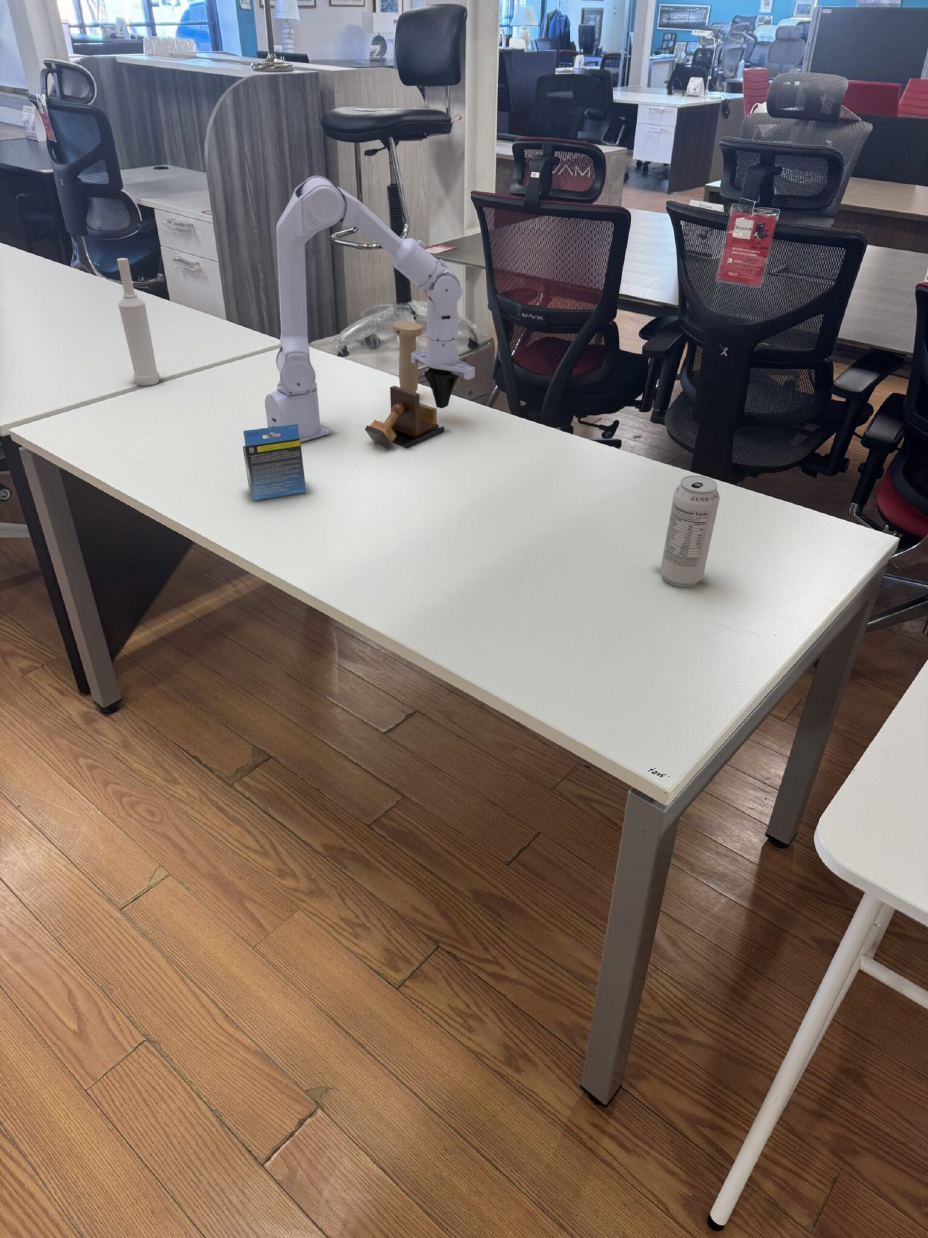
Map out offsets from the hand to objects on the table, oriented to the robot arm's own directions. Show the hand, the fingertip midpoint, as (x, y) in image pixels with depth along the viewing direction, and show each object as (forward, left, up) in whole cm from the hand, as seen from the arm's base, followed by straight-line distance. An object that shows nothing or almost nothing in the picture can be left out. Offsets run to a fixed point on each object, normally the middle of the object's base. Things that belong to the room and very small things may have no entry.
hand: (442, 406), depth 166 cm
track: (-9, -2, -3) cm, 10 cm away
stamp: (-15, -3, -3) cm, 16 cm away
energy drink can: (-9, -66, -3) cm, 67 cm away
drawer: (-8, -1, -2) cm, 8 cm away
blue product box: (-41, -7, -3) cm, 42 cm away
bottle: (-37, +56, -3) cm, 67 cm away
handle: (+2, +14, -3) cm, 14 cm away
